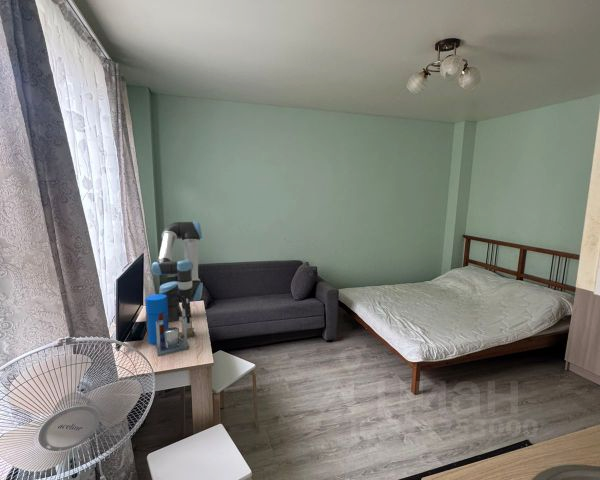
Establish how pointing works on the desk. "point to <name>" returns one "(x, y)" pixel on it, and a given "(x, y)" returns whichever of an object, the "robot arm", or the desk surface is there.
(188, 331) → the brass cap
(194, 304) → the desk surface
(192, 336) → the rubber mat
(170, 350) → the grey metal stand
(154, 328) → the thermos
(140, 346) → the desk surface
